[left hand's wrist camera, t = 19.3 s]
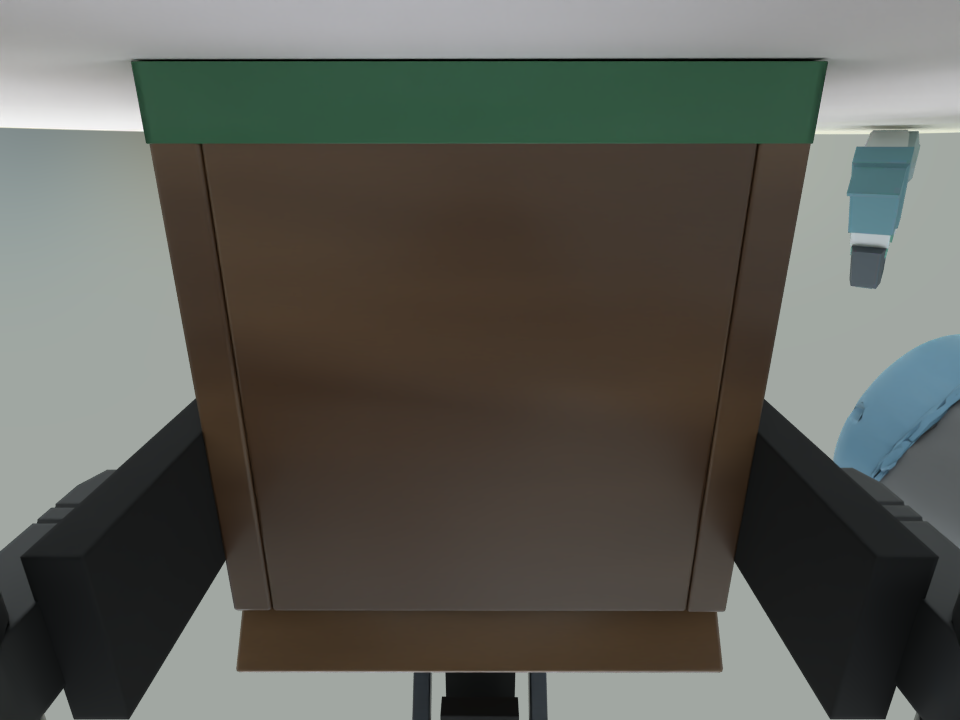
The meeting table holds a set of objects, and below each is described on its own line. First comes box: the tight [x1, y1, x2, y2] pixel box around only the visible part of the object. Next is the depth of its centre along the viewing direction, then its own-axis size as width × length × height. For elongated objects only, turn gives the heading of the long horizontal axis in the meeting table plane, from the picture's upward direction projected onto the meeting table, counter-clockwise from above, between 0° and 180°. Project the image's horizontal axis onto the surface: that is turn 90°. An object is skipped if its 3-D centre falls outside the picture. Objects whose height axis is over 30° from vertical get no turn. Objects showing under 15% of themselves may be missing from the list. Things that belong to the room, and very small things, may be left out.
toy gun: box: [847, 130, 920, 289], centre depth 49 cm, size 4×19×10 cm
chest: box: [131, 61, 828, 612], centre depth 17 cm, size 16×10×10 cm, turn 0°
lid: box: [237, 607, 723, 720], centre depth 19 cm, size 17×10×8 cm
